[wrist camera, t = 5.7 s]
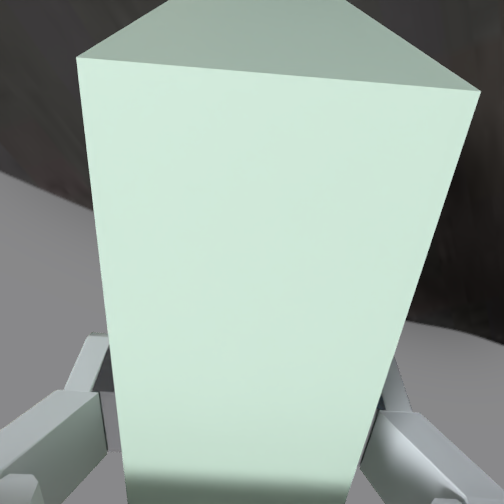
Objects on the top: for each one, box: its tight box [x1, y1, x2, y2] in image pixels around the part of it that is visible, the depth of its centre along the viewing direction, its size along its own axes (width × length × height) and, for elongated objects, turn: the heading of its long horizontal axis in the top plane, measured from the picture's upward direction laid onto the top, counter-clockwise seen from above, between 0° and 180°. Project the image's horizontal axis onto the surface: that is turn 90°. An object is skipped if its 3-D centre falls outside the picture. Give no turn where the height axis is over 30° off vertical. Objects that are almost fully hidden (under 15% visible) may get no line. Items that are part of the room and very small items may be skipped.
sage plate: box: [76, 0, 481, 504], centre depth 13 cm, size 4×14×13 cm, turn 175°
